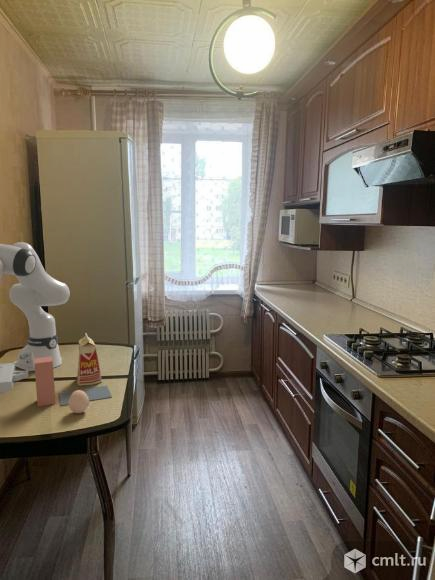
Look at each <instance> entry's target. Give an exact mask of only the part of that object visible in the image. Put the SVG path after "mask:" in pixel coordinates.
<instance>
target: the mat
mask: <svg viewBox="0 0 435 580" xmlns="http://www.w3.org/2000/svg"><path fill="white" fill-rule="evenodd" d="M77 390H78V389H75V390H68V391H63V392H62V391H61V392H59V393H58V395H59V396H58V397H59V402H60V403H59V404H60V407H62V406H69V398H70V396H71V395H72V393H73V392H75V391H77ZM80 390H81V391H83V392H85V393H86V394H87V396H88V399H89V402H93V401H98V400H104V399H110V398H112V397H113V396H112V394H111V391H110V389H109V387H108V385H101V386H94V387H88V388H82V389H80Z"/></svg>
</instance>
